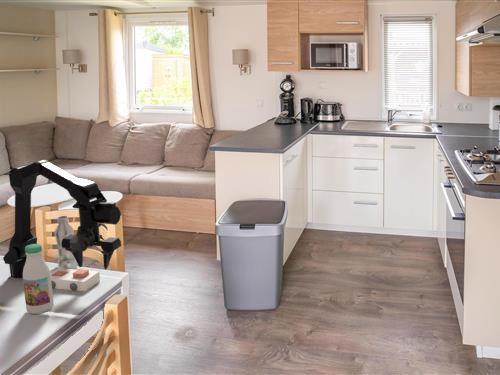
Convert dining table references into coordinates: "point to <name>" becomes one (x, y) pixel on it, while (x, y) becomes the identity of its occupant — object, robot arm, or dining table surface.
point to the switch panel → (73, 280)
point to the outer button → (80, 273)
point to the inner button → (60, 273)
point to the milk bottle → (37, 281)
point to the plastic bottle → (64, 255)
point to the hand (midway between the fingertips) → (93, 268)
